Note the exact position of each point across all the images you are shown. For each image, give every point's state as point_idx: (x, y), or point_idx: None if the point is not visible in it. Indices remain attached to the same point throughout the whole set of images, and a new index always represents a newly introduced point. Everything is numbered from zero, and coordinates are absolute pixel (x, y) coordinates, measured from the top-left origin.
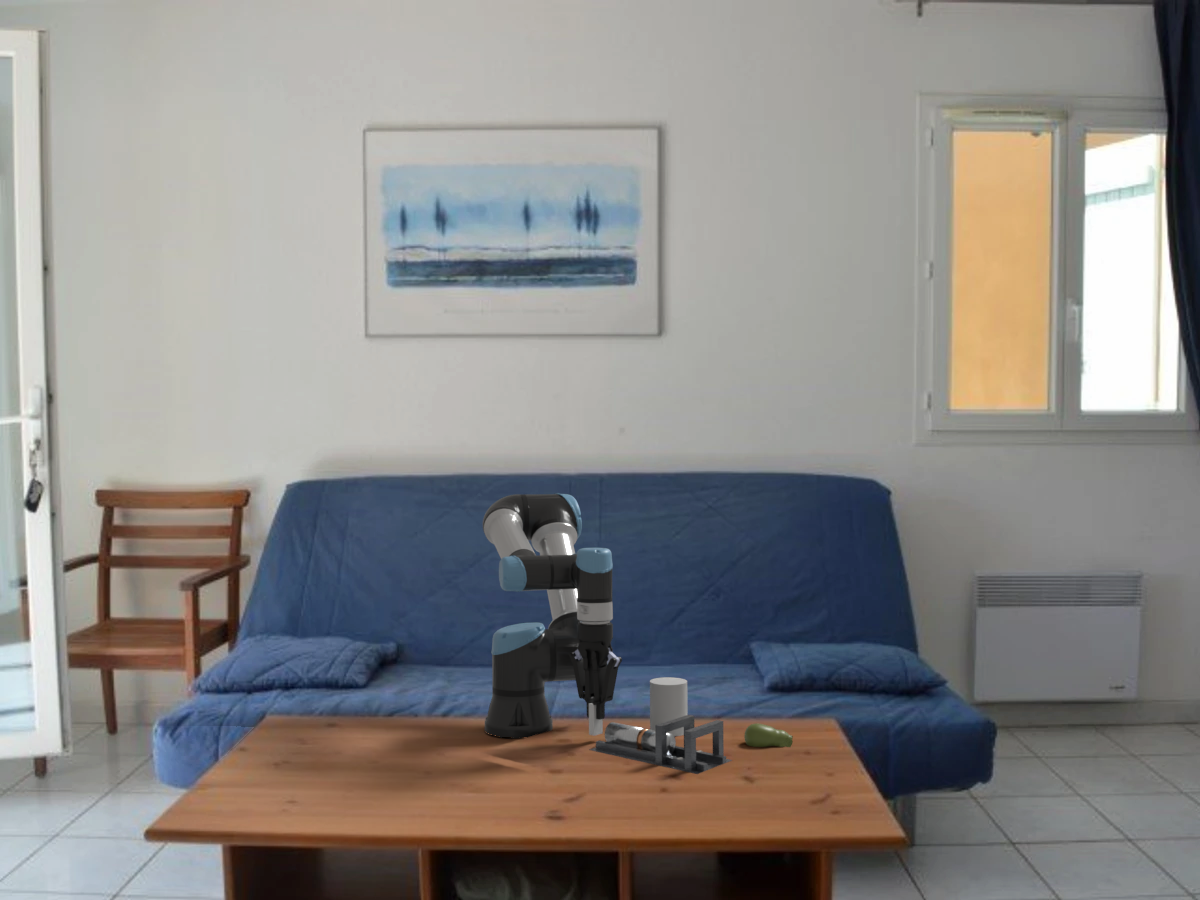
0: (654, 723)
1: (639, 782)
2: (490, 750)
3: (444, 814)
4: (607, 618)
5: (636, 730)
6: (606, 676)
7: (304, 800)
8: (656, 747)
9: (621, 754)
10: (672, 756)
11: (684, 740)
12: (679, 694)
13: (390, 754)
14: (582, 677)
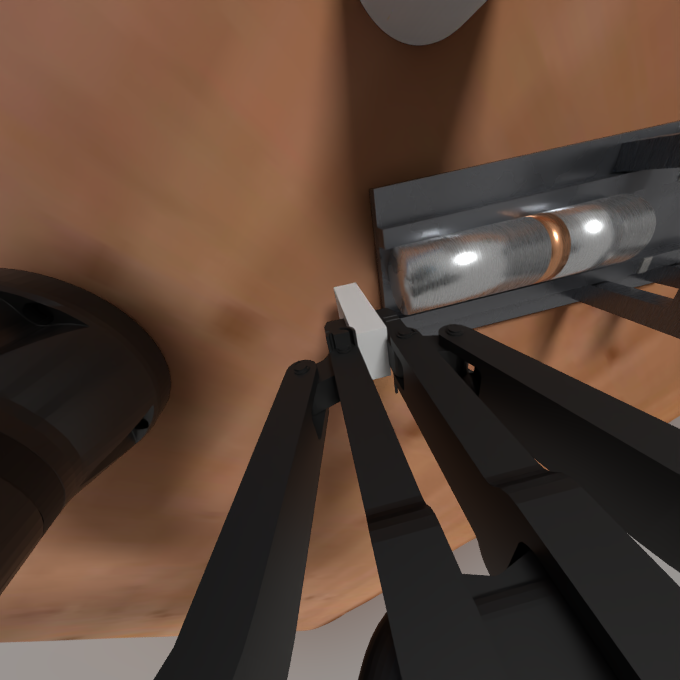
0: (447, 3)
1: (563, 362)
2: (233, 463)
3: None
4: None
5: (529, 280)
6: (579, 478)
7: (313, 593)
8: (613, 312)
9: (472, 314)
10: (621, 266)
11: (663, 168)
12: None
13: (178, 554)
14: (309, 487)
